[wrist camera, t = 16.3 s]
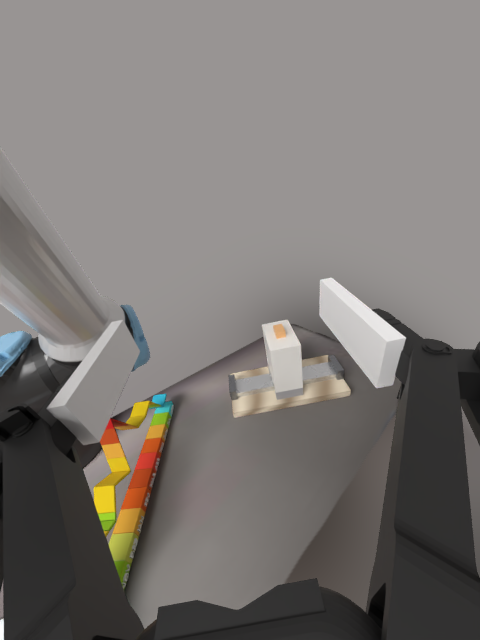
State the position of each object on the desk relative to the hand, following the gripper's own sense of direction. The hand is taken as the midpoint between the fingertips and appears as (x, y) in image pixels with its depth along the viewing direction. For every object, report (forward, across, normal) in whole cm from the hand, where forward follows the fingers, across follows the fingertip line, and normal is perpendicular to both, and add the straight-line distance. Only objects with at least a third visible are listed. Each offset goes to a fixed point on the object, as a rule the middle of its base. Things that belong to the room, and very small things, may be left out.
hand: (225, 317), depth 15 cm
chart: (+4, -19, -30) cm, 36 cm away
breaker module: (+18, +7, -28) cm, 34 cm away
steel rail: (+18, +7, -28) cm, 34 cm away
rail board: (+18, +7, -30) cm, 35 cm away
